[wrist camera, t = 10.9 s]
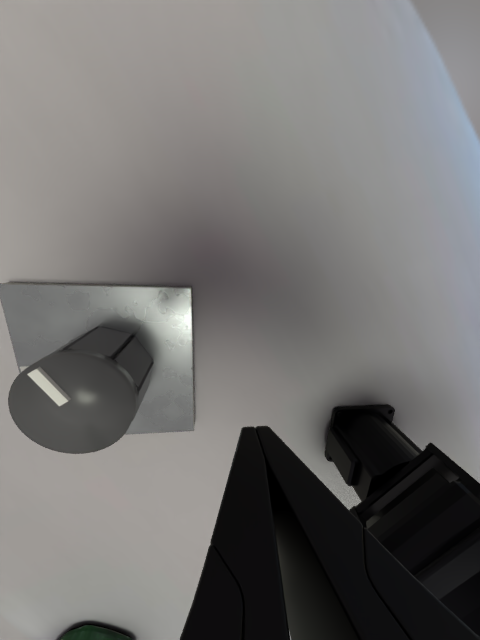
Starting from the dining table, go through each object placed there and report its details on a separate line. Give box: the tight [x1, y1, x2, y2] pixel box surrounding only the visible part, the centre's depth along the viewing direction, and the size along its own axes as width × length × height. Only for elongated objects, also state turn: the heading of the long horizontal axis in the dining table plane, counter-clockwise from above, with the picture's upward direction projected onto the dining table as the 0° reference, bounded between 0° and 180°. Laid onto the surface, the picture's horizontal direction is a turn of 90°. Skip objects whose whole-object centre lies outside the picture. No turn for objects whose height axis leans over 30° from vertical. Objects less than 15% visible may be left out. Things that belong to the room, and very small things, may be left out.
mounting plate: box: [0, 282, 195, 434], centre depth 17 cm, size 13×13×5 cm
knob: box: [8, 327, 154, 454], centre depth 15 cm, size 7×7×5 cm
